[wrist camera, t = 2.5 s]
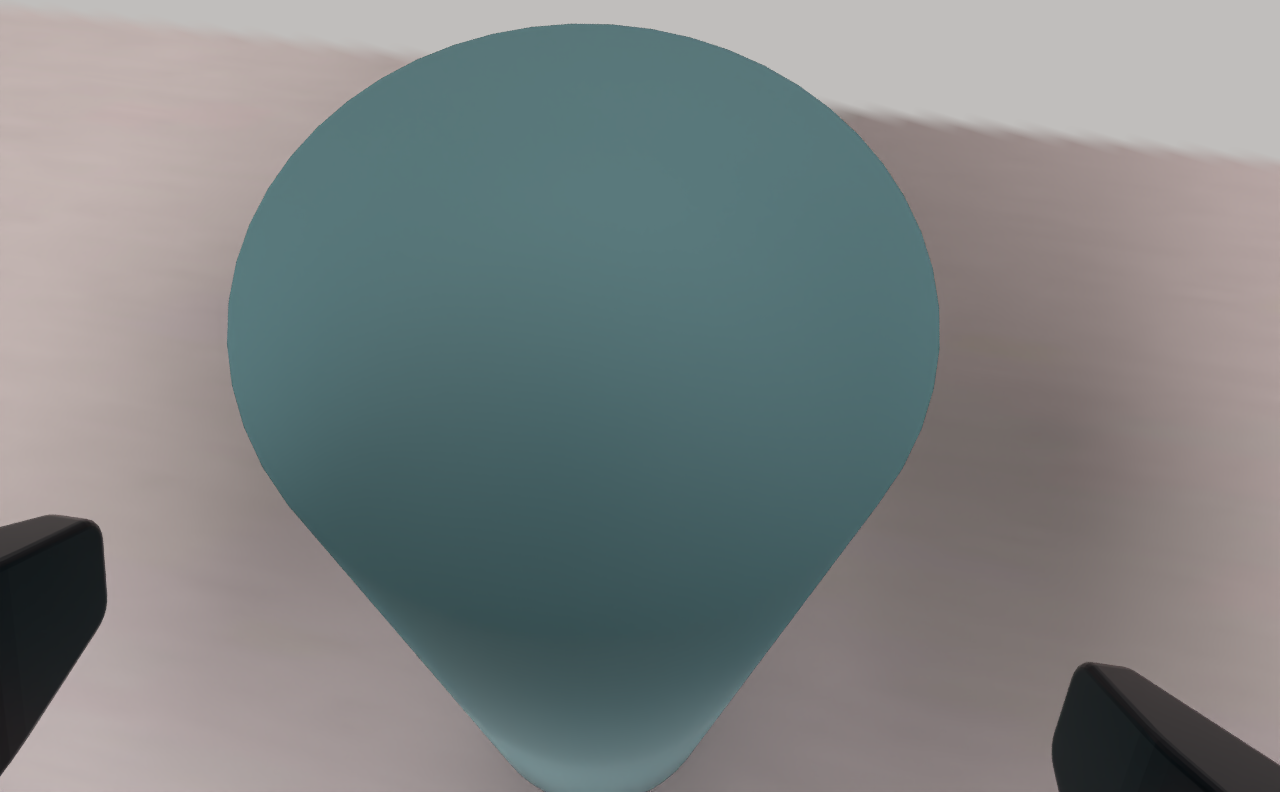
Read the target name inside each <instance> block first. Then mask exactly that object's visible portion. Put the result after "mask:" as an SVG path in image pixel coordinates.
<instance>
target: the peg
mask: <svg viewBox="0 0 1280 792" xmlns="http://www.w3.org/2000/svg"><path fill="white" fill-rule="evenodd" d="M227 347H228V355H229V363H230V372H231V380H232V387H233V390H234V394H235V397H236V401H237V404H238V408H239V411H240V415H241V418H242V422H243V425H244V428H245V430H246V432H247V434H248V437H249V439H250V441H251V443H252V445H253V447H254V450H255V452H256V454H257V456H258V458H259V460H260V463H261V465H262V467H263V468H264V470H265V471H266V473H267V474H268V476H269V477H270V479H271V480H272V482H273V483H274V485H275V486H276V488H277V489H278V491H279V492H280V494H281V495H282V497H283V498H284V500H285V501H286V503H287V504H288V506H289V507H290V508H291V509H292V510H293V511H294V513H295V514H296V515H297V516H298V517H299V518H300V520H301V521H302V522H303V523H304V524H305V525H306V527H307V528H308V529H309V530H310V531H311V532H312V534H313V535H314V536H315V537H316V538H317V539H318V541H319V542H320V543H321V544H322V545H323V546H324V548H325V549H326V550H327V551H328V552H329V553H330V555H331V556H332V557H333V558H334V559H335V560H336V562H337V563H338V564H339V565H340V566H341V567H342V569H343V570H344V571H345V572H346V573H347V574H348V576H349V577H350V578H351V579H352V580H353V581H354V583H355V584H356V585H357V586H358V587H359V588H360V590H361V591H362V592H363V593H364V594H365V595H366V597H367V598H368V599H369V600H370V601H371V602H372V603H373V605H374V606H375V607H376V608H377V609H378V610H379V612H380V613H381V614H382V615H383V616H384V617H385V619H386V620H387V621H388V622H389V623H390V624H391V626H392V627H393V628H394V629H395V630H396V631H397V633H398V634H399V635H400V636H401V637H402V638H403V640H404V641H405V642H406V643H407V644H408V645H409V647H410V648H411V649H412V650H413V651H414V652H415V654H416V655H417V656H418V657H419V658H420V659H421V661H422V662H423V663H424V664H425V665H426V666H427V668H428V669H429V670H430V671H431V672H432V673H433V675H434V676H435V677H436V678H437V679H438V680H439V682H440V683H441V684H442V685H443V686H444V687H445V689H446V690H447V691H448V692H449V693H450V694H451V696H452V697H453V698H454V699H455V700H456V701H457V702H458V704H459V705H460V706H461V707H462V708H463V709H464V711H465V712H466V713H467V714H468V715H469V716H470V718H471V719H472V720H473V721H474V722H475V723H476V725H477V726H478V727H479V728H480V729H481V730H482V732H483V733H484V734H485V735H486V736H487V737H488V739H489V740H490V741H491V742H492V743H493V744H494V746H495V747H496V748H497V749H498V750H499V751H500V753H501V754H502V755H503V756H504V757H505V758H506V760H507V761H508V762H509V763H510V764H511V765H512V766H513V767H514V768H515V770H516V771H517V772H518V773H519V774H521V775H522V776H523V777H524V778H525V779H527V780H528V781H529V782H530V783H532V784H533V785H535V786H536V787H538V788H540V789H541V790H543V791H545V792H647V791H649V790H651V789H653V788H654V787H656V786H657V785H659V784H661V783H662V782H664V781H665V780H666V779H667V778H668V777H670V776H671V775H672V774H673V773H674V772H675V771H676V770H677V769H678V768H679V767H680V766H681V765H682V764H683V763H684V762H685V760H686V759H687V758H688V757H689V755H690V754H691V753H692V751H693V750H694V749H695V747H696V746H697V745H698V743H699V742H700V741H701V739H702V738H703V737H704V735H705V734H706V733H707V731H708V730H709V729H710V727H711V726H712V725H713V723H714V722H715V721H716V719H717V718H718V717H719V715H720V714H721V713H722V711H723V710H724V709H725V707H726V706H727V705H728V703H729V702H730V701H731V699H732V698H733V697H734V695H735V694H736V693H737V691H738V690H739V689H740V687H741V686H742V685H743V683H744V682H745V681H746V679H747V678H748V677H749V675H750V674H751V673H752V671H753V670H754V669H755V667H756V666H757V665H758V663H759V662H760V661H761V659H762V658H763V657H764V656H765V654H766V653H767V652H768V650H769V649H770V648H771V646H772V645H773V644H774V642H775V641H776V640H777V638H778V637H779V636H780V634H781V633H782V632H783V630H784V629H785V628H786V626H787V625H788V624H789V622H790V621H791V620H792V618H793V617H794V616H795V614H796V613H797V612H798V610H799V609H800V608H801V606H802V605H803V604H804V602H805V601H806V600H807V598H808V597H809V596H810V594H811V593H812V592H813V590H814V589H815V588H816V586H817V585H818V584H819V582H820V581H821V580H822V578H823V577H824V576H825V574H826V573H827V572H828V570H829V569H830V568H831V566H832V565H833V564H834V562H835V561H836V560H837V558H838V557H839V556H840V554H841V553H842V552H843V550H844V549H845V548H846V546H847V545H848V544H849V542H850V541H851V540H852V538H853V537H854V536H855V534H856V533H857V532H858V530H859V529H860V528H861V526H862V525H863V524H864V522H865V521H866V520H867V518H868V517H869V516H870V514H871V513H872V512H873V510H874V509H875V508H876V506H877V505H878V504H879V502H880V501H881V499H882V498H883V496H884V495H885V493H886V492H887V490H888V489H889V487H890V486H891V485H892V483H893V482H894V480H895V479H896V477H897V476H898V474H899V473H900V471H901V470H902V468H903V466H904V464H905V462H906V460H907V458H908V456H909V454H910V452H911V450H912V448H913V445H914V443H915V441H916V439H917V437H918V435H919V433H920V431H921V429H922V425H923V422H924V419H925V415H926V412H927V409H928V406H929V402H930V399H931V396H932V392H933V389H934V383H935V376H936V369H937V362H938V355H939V305H938V299H937V292H936V286H935V280H934V274H933V268H932V265H931V262H930V259H929V255H928V252H927V249H926V246H925V243H924V240H923V236H922V233H921V231H920V228H919V226H918V224H917V222H916V220H915V218H914V216H913V214H912V212H911V210H910V207H909V205H908V203H907V201H906V199H905V197H904V195H903V194H902V192H901V191H900V189H899V188H898V186H897V185H896V183H895V181H894V180H893V178H892V177H891V175H890V174H889V172H888V171H887V169H886V168H885V166H884V165H883V163H882V162H881V161H880V160H879V159H878V157H877V156H876V155H875V154H874V153H873V151H872V150H871V149H870V148H869V147H868V146H867V144H866V143H865V142H864V141H863V140H862V139H861V137H860V136H859V135H858V134H857V133H856V132H855V131H854V130H853V129H852V128H850V127H849V126H848V125H847V124H846V123H845V122H844V121H843V120H842V119H841V118H840V117H839V116H838V115H836V114H835V113H834V112H833V111H832V110H831V109H830V108H829V107H827V106H826V105H825V104H823V103H822V102H820V101H819V100H818V99H816V98H815V97H814V96H812V95H811V94H810V93H808V92H807V91H805V90H804V89H803V88H801V87H800V86H799V85H797V84H795V83H793V82H791V81H790V80H788V79H787V78H785V77H783V76H781V75H779V74H778V73H776V72H774V71H773V70H771V69H769V68H767V67H766V66H764V65H762V64H759V63H757V62H755V61H752V60H750V59H748V58H746V57H743V56H741V55H739V54H737V53H734V52H732V51H730V50H727V49H724V48H721V47H718V46H715V45H712V44H709V43H706V42H703V41H700V40H697V39H693V38H690V37H686V36H681V35H676V34H672V33H667V32H663V31H658V30H653V29H645V28H637V27H629V26H620V25H609V24H564V25H551V26H540V27H530V28H524V29H518V30H512V31H507V32H501V33H496V34H491V35H488V36H484V37H481V38H477V39H473V40H470V41H467V42H463V43H459V44H456V45H453V46H450V47H448V48H445V49H443V50H440V51H438V52H435V53H433V54H430V55H428V56H425V57H423V58H420V59H418V60H415V61H414V62H412V63H410V64H408V65H406V66H404V67H402V68H400V69H398V70H396V71H395V72H393V73H391V74H389V75H387V76H385V77H383V78H381V79H380V80H378V81H377V82H375V83H374V84H372V85H371V86H369V87H368V88H366V89H365V90H364V91H362V92H361V93H359V94H358V95H356V96H355V97H353V98H352V99H350V100H349V101H347V102H346V103H345V104H344V105H343V106H342V107H340V108H339V109H338V110H337V111H336V112H335V113H333V114H332V115H331V116H330V117H329V118H328V119H326V120H325V121H324V122H323V123H322V124H321V125H319V126H318V127H317V128H316V129H315V131H314V132H313V133H312V134H311V135H310V136H309V137H308V138H307V139H306V140H305V142H304V143H303V144H302V145H301V146H300V147H299V148H298V149H297V150H296V151H295V152H294V154H293V155H292V156H291V157H290V158H289V160H288V161H287V163H286V164H285V166H284V167H283V168H282V170H281V171H280V173H279V174H278V175H277V177H276V178H275V180H274V181H273V183H272V184H271V185H270V187H269V188H268V190H267V192H266V194H265V196H264V198H263V200H262V202H261V203H260V205H259V207H258V209H257V211H256V213H255V215H254V217H253V219H252V221H251V223H250V225H249V228H248V230H247V233H246V236H245V239H244V242H243V245H242V248H241V250H240V253H239V256H238V259H237V262H236V267H235V272H234V277H233V282H232V287H231V292H230V298H229V306H228V332H227Z"/></svg>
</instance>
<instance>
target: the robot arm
mask: <svg viewBox="0 0 1280 792" xmlns="http://www.w3.org/2000/svg"><path fill="white" fill-rule="evenodd" d="M106 606H107V587H106V573H105V560H104V546H103V537H102V532H101V530H100V528H99V526H98V525H97V524H96V523H95V522H94V521H92V520H88V519H83V518H76V517H69V516H62V515H45V516H41V517H37V518H33V519H30V520H26V521H22V522H18V523H14V524H10V525H6V526H2V527H0V776H1V774H2V773H3V772H4V770H5V769H6V768H7V767H8V765H9V764H10V763H11V761H12V760H13V758H14V757H15V755H16V754H17V752H18V751H19V750H20V748H21V747H22V745H23V744H24V742H25V741H26V739H27V738H28V736H29V735H30V733H31V732H32V730H33V729H34V727H35V726H36V724H37V722H38V721H39V719H40V718H41V716H42V715H43V713H44V712H45V710H46V709H47V707H48V705H49V704H50V702H51V701H52V699H53V698H54V696H55V695H56V693H57V691H58V690H59V688H60V687H61V685H62V684H63V682H64V681H65V679H66V678H67V676H68V674H69V673H70V671H71V670H72V668H73V667H74V665H75V664H76V662H77V660H78V659H79V657H80V656H81V654H82V653H83V651H84V650H85V648H86V647H87V645H88V643H89V642H90V640H91V639H92V637H93V636H94V634H95V633H96V631H97V629H98V628H99V626H100V624H101V622H102V620H103V617H104V614H105V611H106ZM1052 762H1053V768H1054V772H1055V777H1056V781H1057V785H1058V790H1059V792H1280V765H1279V764H1277V763H1276V762H1274V761H1272V760H1271V759H1269V758H1268V757H1266V756H1265V755H1263V754H1262V753H1260V752H1259V751H1257V750H1255V749H1254V748H1252V747H1251V746H1249V745H1248V744H1246V743H1245V742H1243V741H1242V740H1240V739H1238V738H1237V737H1235V736H1234V735H1232V734H1231V733H1229V732H1228V731H1226V730H1225V729H1223V728H1221V727H1220V726H1218V725H1217V724H1215V723H1214V722H1212V721H1211V720H1209V719H1208V718H1206V717H1204V716H1203V715H1201V714H1200V713H1198V712H1197V711H1195V710H1194V709H1192V708H1191V707H1189V706H1187V705H1186V704H1184V703H1183V702H1181V701H1180V700H1178V699H1177V698H1175V697H1174V696H1172V695H1170V694H1169V693H1167V692H1166V691H1164V690H1163V689H1161V688H1160V687H1158V686H1157V685H1155V684H1153V683H1152V682H1150V681H1149V680H1147V679H1146V678H1144V677H1143V676H1141V675H1140V674H1138V673H1136V672H1135V671H1133V670H1131V669H1129V668H1126V667H1122V666H1114V665H1107V664H1100V663H1093V662H1085V663H1083V664H1082V665H1080V666H1078V668H1077V669H1076V671H1075V672H1074V674H1073V676H1072V679H1071V682H1070V685H1069V688H1068V692H1067V695H1066V698H1065V701H1064V704H1063V707H1062V710H1061V714H1060V717H1059V720H1058V723H1057V726H1056V729H1055V732H1054V736H1053V742H1052Z"/></svg>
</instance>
